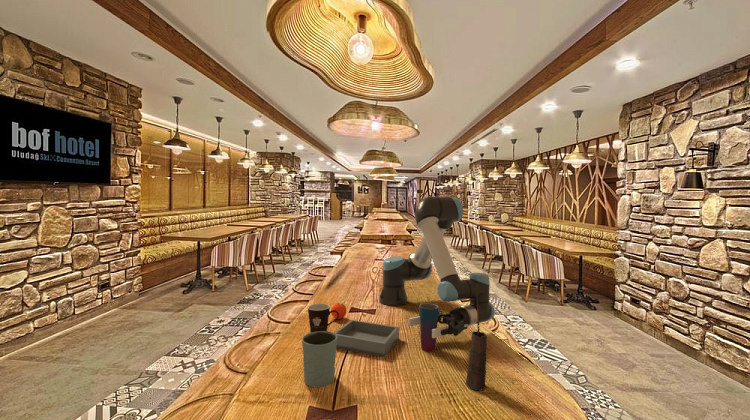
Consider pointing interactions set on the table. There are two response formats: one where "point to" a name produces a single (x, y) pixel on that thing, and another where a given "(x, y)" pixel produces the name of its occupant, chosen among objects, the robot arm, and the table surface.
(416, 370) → the table surface
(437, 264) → the robot arm
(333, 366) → the grey ceramic tumbler
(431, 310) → the cup
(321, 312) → the coffee mug
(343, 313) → the clementine
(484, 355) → the butter churn
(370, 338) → the tray
